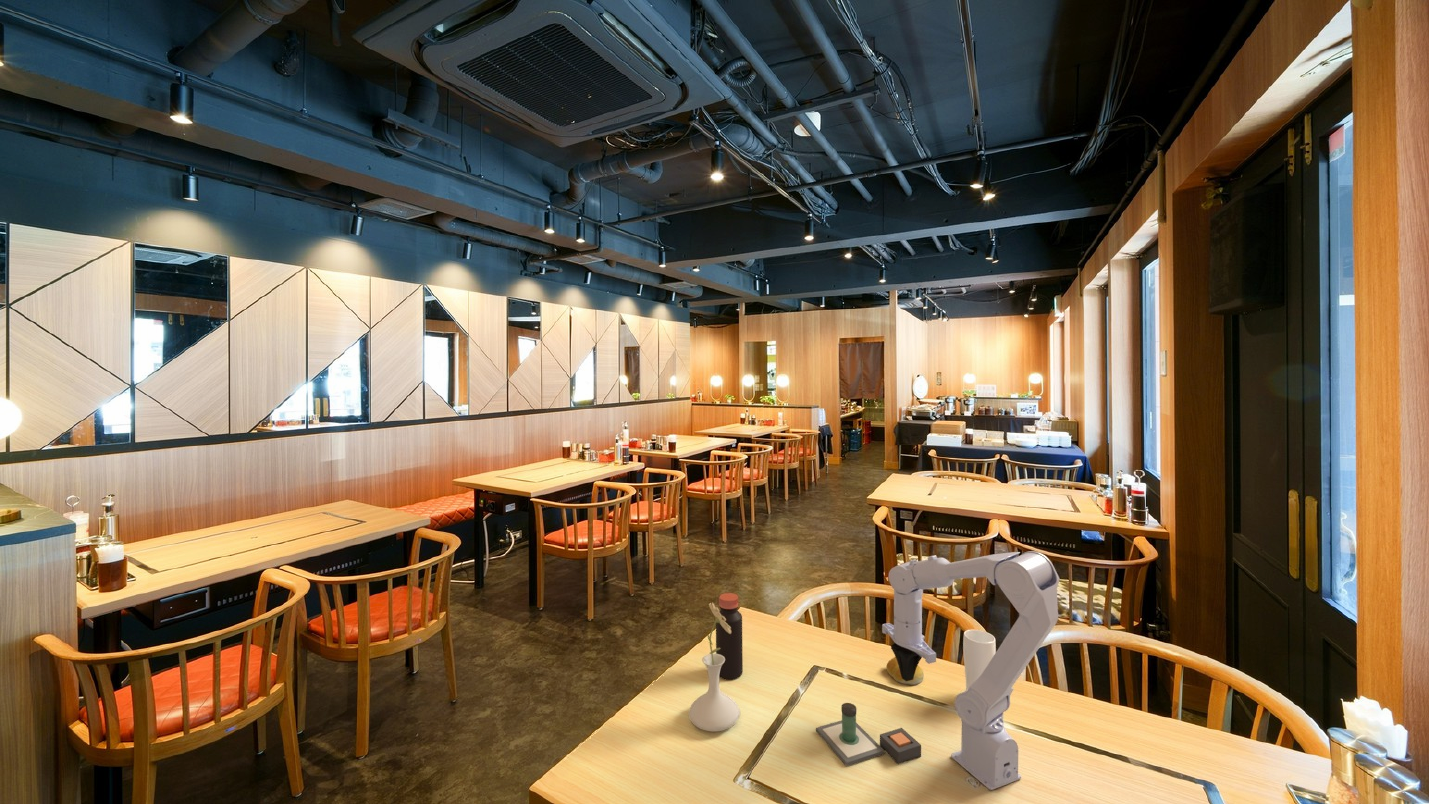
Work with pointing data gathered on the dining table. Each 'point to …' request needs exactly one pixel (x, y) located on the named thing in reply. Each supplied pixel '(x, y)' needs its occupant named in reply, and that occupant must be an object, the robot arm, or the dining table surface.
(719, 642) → the bottle
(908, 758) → the button housing
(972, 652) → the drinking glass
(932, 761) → the dining table surface
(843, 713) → the marker
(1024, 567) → the robot arm
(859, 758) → the board
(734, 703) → the flower in vase
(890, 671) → the bread roll
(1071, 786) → the dining table surface
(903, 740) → the button
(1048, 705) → the dining table surface
